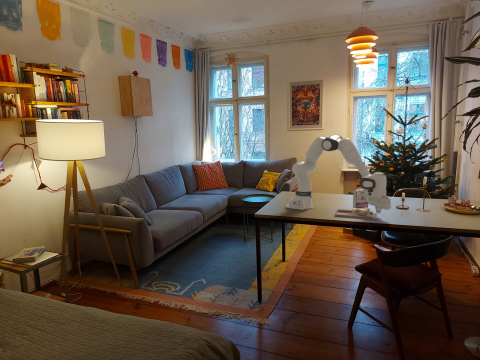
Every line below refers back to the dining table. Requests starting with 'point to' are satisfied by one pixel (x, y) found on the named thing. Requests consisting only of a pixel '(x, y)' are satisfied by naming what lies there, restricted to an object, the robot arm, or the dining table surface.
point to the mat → (348, 214)
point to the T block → (361, 212)
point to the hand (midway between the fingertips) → (378, 212)
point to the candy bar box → (360, 198)
